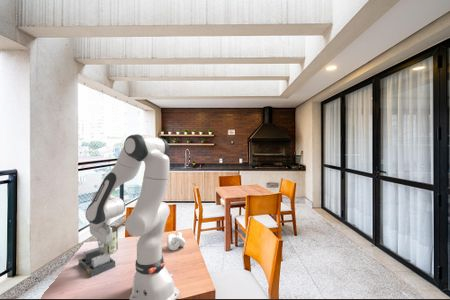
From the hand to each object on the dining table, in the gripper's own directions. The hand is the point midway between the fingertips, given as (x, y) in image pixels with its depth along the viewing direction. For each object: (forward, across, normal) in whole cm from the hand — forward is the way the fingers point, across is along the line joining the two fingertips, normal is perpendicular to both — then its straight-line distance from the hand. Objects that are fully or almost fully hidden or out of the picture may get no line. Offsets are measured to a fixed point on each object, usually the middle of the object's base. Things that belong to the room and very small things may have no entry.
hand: (100, 246), depth 112 cm
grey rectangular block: (+11, 0, 0) cm, 11 cm away
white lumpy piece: (+13, -11, -42) cm, 45 cm away
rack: (+12, +5, 0) cm, 14 cm away
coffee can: (+13, +18, -12) cm, 25 cm away
